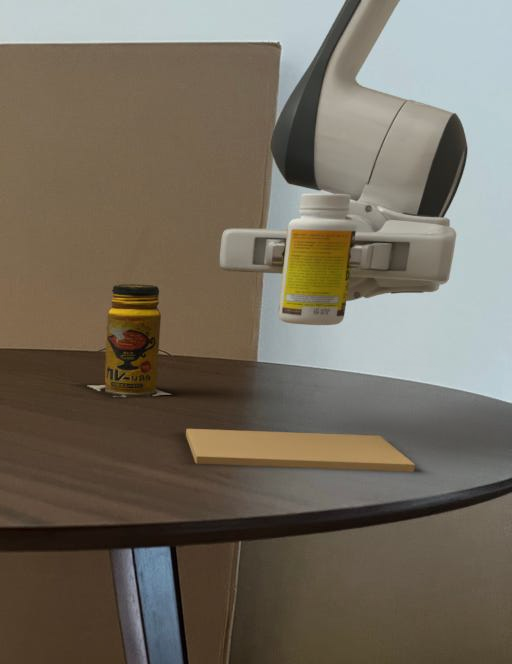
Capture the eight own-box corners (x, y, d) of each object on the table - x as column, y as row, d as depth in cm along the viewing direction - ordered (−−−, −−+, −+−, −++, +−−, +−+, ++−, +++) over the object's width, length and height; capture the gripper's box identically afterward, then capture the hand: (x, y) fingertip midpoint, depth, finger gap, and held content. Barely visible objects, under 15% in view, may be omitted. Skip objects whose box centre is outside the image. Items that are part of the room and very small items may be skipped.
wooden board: (378, 444, 96) (380, 435, 96) (413, 473, 85) (415, 464, 85) (185, 436, 97) (186, 428, 97) (195, 465, 86) (196, 455, 86)
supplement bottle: (351, 327, 86) (369, 194, 82) (285, 325, 86) (300, 192, 82) (333, 320, 91) (349, 195, 87) (271, 318, 91) (284, 193, 87)
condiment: (114, 398, 117) (120, 287, 112) (85, 387, 124) (90, 282, 119) (171, 396, 119) (180, 287, 114) (140, 385, 126) (147, 282, 122)
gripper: (245, 213, 100) (200, 211, 89) (468, 218, 92) (450, 217, 81) (239, 281, 103) (194, 288, 91) (455, 292, 94) (436, 301, 83)
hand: (316, 255), depth 86 cm, fingers closed on supplement bottle, 5 cm apart
